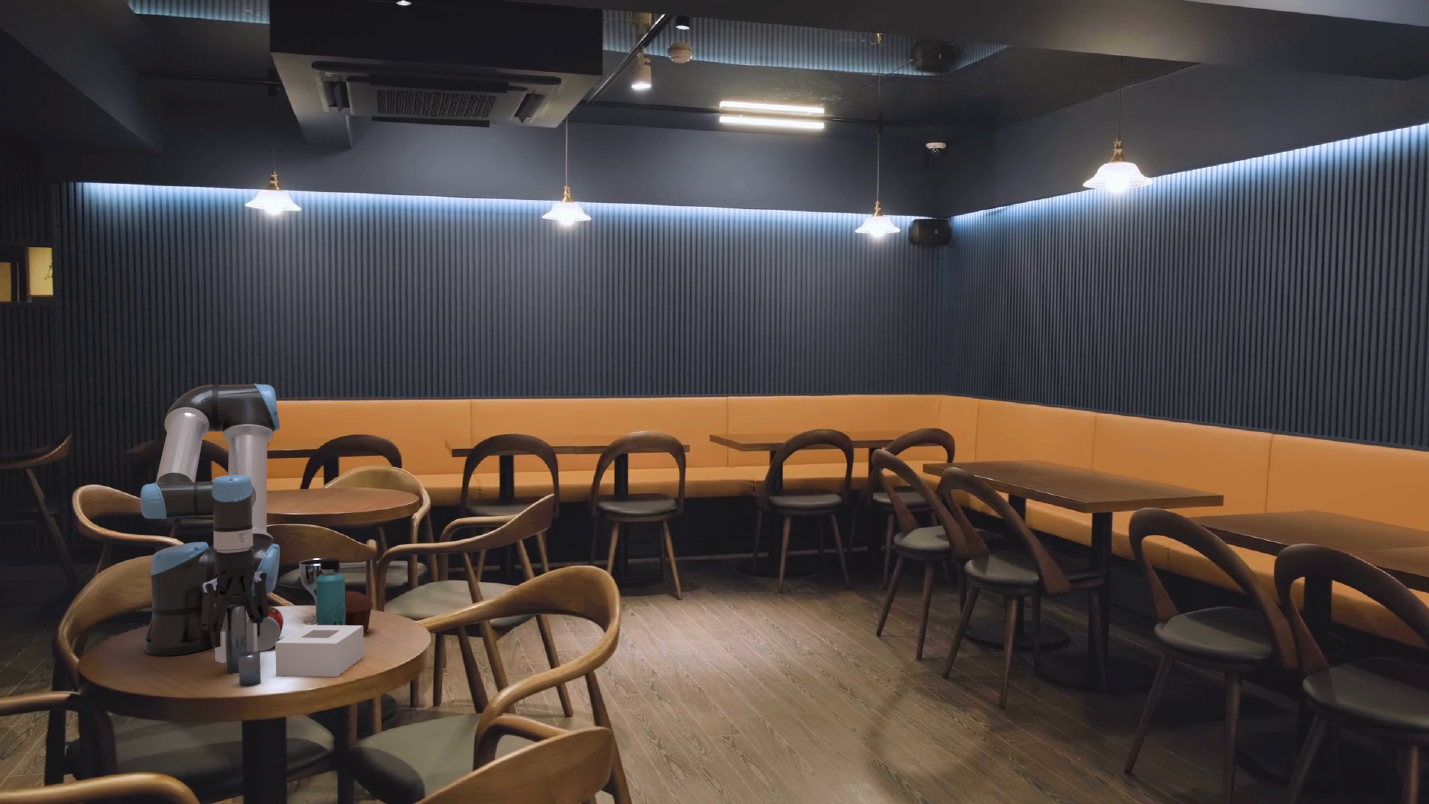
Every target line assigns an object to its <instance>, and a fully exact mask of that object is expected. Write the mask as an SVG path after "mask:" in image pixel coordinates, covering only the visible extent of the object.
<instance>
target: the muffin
mask: <svg viewBox="0 0 1429 804" xmlns="http://www.w3.org/2000/svg"><path fill="white" fill-rule="evenodd" d="M345 592H346V593H345V594H346V596H345V606H346V618H347V625H351V626H363V635H364V634H365V633H366V632H368V633H369V625H370V618H371V612H372V611H371V610H372V608H373V607H374V603H373V602H372V600H371V599H370V598H369V596H367V595H365V594H363V593H361V592H359V591H354V590H347V591H346V590H345ZM366 634H367V633H366ZM366 634H365V635H366ZM365 635H364V636H365Z"/></svg>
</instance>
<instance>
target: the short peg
mask: <svg viewBox="0 0 1429 804" xmlns="http://www.w3.org/2000/svg"><path fill="white" fill-rule="evenodd" d="M238 659H239V673H238V685H240V687H242V688H243V687H244V688H248V687H254V686H259V685H260V684H261V682H262V680H261V679H262V677H261V652H260V651H258V652H246V653H242V654H240V655H239V656H238Z"/></svg>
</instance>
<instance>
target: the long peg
mask: <svg viewBox="0 0 1429 804" xmlns="http://www.w3.org/2000/svg"><path fill="white" fill-rule="evenodd" d="M224 623H225V624H224V625H225V627H224V628H225V630H224V631H225V640H226V662H225V663H226V664H225V665H226V666H225V667H226V668H225V669H226V673H227V674H228V673H238V674H239V659H238V656H239V655H240V654H242V653H246V652H247V635H246V623H247V611H246V604H244V603H243V602H242V603H236V602H235V603H229V604H228V608H227V612H226V615H225V619H224Z"/></svg>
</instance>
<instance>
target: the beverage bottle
mask: <svg viewBox="0 0 1429 804" xmlns="http://www.w3.org/2000/svg"><path fill="white" fill-rule="evenodd" d="M340 567H341V566H340V559H339V558H336V557H332V558H327V559H323V560H321V569H323V570H331V569H333V570H336V569H339V568H340ZM345 581H346V577H345V576H344V575H343V574H342V573H341V572H339V571H338V572H337V571H333V572H327V573H323V574H321V575H320V576H319V577H318V578H317V579H316V584H317V613H316V612H315V615H316V614H317V618H316V620H317V624H316V625H347V618H346V606H345V596H346V594H345V593H346V585H345V583H346V582H345Z"/></svg>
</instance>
